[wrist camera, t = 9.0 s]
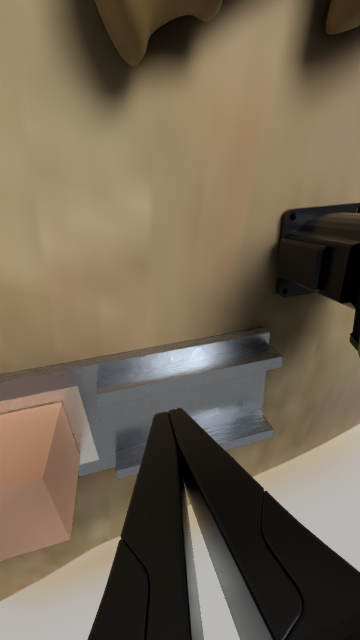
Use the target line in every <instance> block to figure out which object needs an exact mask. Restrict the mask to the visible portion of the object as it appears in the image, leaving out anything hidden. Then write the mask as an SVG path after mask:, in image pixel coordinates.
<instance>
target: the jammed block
mask: <svg viewBox="0 0 360 640" xmlns="http://www.w3.org/2000/svg"><path fill="white" fill-rule="evenodd" d="M79 464H80V455H79V452H78V449H77V446H76V443H75V440H74V437H73V434H72V431H71V428H70V425H69V422H68V419H67V417H66V414H65V411H64V408H63V405H62V402H59V403H55V404H50V405H45V406H40V407H35V408H30V409H26V410H21V411H16V412H11V413H6V414H1V415H0V561H2V560H6V559H9V558H12V557H16V556H19V555H22V554H26V553H29V552H32V551H35V550H39V549H42V548H45V547H49V546H52V545H55V544H59V543H62V542H65V541H69V540H70V539H71V531H72V523H73V514H74V506H75V498H76V489H77V481H78V473H79Z"/></svg>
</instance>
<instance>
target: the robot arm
mask: <svg viewBox="0 0 360 640" xmlns="http://www.w3.org/2000/svg"><path fill="white" fill-rule="evenodd" d="M357 208H358V210H357ZM356 210H357V212H356ZM291 214H293V217H292V219H291V220H290V215H291ZM277 274H278V278H277V289H276V293H277V294H278V295H279V296H281V297H289V296H295V295H301V294H307V293H314V292H316V293H318V294H320V295H323V296H325V297H327V298H329V299H332V300H334V301H336V302H339V303H341V304H343V305H345V306H348V307H350V308H352V309H354V310H356V311H355V318H354V325H353V332H352V333H351V334H350V343H351V344H352V345H353V346H354V347H355V349H356V350H357V351H358V354H359V357H360V203H350V204H339V205H328V206H317V207H306V208H294V209H288V210H287V211H286V212H285V213H284V216H283V226H282V236H281V242H280V248H279V258H278V269H277ZM284 288H285V290H284V292H282V290H283V289H284ZM183 480H184V481H183ZM184 484H185V486H184ZM185 488H186V491H187V494H188V497H189V499H190V502H191V505H192V508H193V511H194V513H195V516H196V518H197V521H198V524H199V527H200V530H201V533H202V535H203V538H204V541H205V544H206V546H207V549H208V552H209V555H210V557H211V560H212V563H213V566H214V568H215V571H216V574H217V577H218V579H219V582H220V585H221V588H222V591H223V593H224V596H225V599H226V602H227V604H228V607H229V610H230V613H231V615H232V618H233V621H234V624H235V626H236V629H237V632H238V635H239V637H240V640H360V572H359V571H358V570H357V569H355V568H354V567H353V566H352V565H350V564H349V563H348V562H347V561H345V560H344V559H343V558H342V557H341V556H339V555H338V554H337V553H336V552H334V551H333V550H332V549H331V548H329V547H328V546H327V545H326V544H324V543H323V542H322V541H321V540H320V539H319V538H317V537H316V536H315V535H314V534H313V533H311V532H310V531H309V530H308V529H307V528H305V527H304V526H303V525H302V524H301V523H300V522H298V521H297V520H296V519H295V518H294V517H293V516H292V515H291V514H290V513H289V512H288V511H287V510H286V509H285V508H284V507H282V506H281V505H280V504H279V503H278V502H277V501H276V500H275V499H274V498H273V497H272V496H271V495H270V494H269V493H268V492H267V491H264V489H263V487H262V486H261V485H260V484H259V483H258V482H257V481H255V479H253V477H252V476H251V475H250V474H249V473H248V472H246V471H245V470H244V469H243V468H242V467H241V466H240V465H239V464H238V463H237V462H236V461H235V460H234V459H233V458H232V457H231V456H230V455H229V454H228V453H227V452H226V451H225V450H224V449H223V448H222V447H221V446H220V445H219V444H218V443H217V442H216V441H215V440H214V439H213V438H212V437H211V436H210V435H209V434H208V433H207V432H206V431H205V430H204V429H203V428H202V427H201V426H200V425H199V424H198V423H197V422H196V421H195V420H194V419H193V418H192V417H191V416H190V415H189V414H188V413H187V412H185V411H184V410H183V409H182V408H181V407H179V408H175V409H171V410H169V411H168V412H167V411H164V412H160V413H156V414H155V415H154V417H153V420H152V424H151V428H150V431H149V435H148V439H147V442H146V446H145V449H144V453H143V457H142V460H141V464H140V468H139V471H138V475H137V478H136V482H135V486H134V489H133V493H132V497H131V500H130V504H129V508H128V511H127V515H126V518H125V522H124V526H123V529H122V533H121V540H120V541H119V543H118V547H117V551H116V554H115V558H114V561H113V565H112V568H111V572H110V575H109V578H108V582H107V585H106V588H105V591H104V594H103V597H102V600H101V603H100V606H99V609H98V612H97V615H96V618H95V621H94V623H93V626H92V629H91V632H90V634H89V637H88V640H204V637H203V629H202V621H201V613H200V605H199V597H198V589H197V581H196V574H195V564H194V556H193V548H192V540H191V532H190V524H189V517H188V508H187V500H186V493H185Z"/></svg>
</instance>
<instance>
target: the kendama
mask: <svg viewBox="0 0 360 640" xmlns="http://www.w3.org/2000/svg"><path fill="white" fill-rule="evenodd" d="M222 1H223V0H95V2H96V5H97V8H98V11H99V14H100V16H101V18H102V21H103V23H104V25H105V28H106V30H107V32H108V34H109V37H110V38H111V40H112V42H113V44H114V45H115V47H116V49H117V51H118V52H119V54H120V55H121V57H122V58H123V59H124V60H125V61H126V63H128V64H129V65H131V66H132V67H134V66H136V65H138V64H139V62H140V61H141V60H142V58H143V57H144V55H145V52H146V48H147V43H148V40H149V37H150V35H151V34H152V33H153V32H154V31H155V30H156V29H158V28H159V27H161V26H162V25H164V24H165V23H167V22H169V21H171V20H173V19H175V18H177V17H180V16H184V15H193V16H195V17H197V18H198V19H200V20H202V21H204V22H209V21H210V20H211V19H213V18H214V17H215V16H216V15H217V14H218V13H219V10H220V7H221V4H222ZM358 26H360V0H331V4H330V7H329V11H328V15H327V19H326V27H325V29H326V32H327V34H338V33H342V32H345V31H348V30H351V29H353V28H356V27H358Z"/></svg>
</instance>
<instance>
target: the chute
mask: <svg viewBox="0 0 360 640" xmlns="http://www.w3.org/2000/svg"><path fill="white" fill-rule="evenodd" d="M269 338H270V332H269V331H268V330H266V329H265V328H264V327H262V328H257V329H251V330H246V331H240V332H235V333H229V334H223V335H218V336H212V337H207V338H201V339H196V340H190V341H185V342H179V343H174V344H168V345H163V346H157V347H152V348H146V349H141V350H135V351H129V352H124V353H118V354H113V355H107V356H102V357H96V358H91V359H85V360H80V361H74V362H69V363H63V364H58V365H52V366H46V367H41V368H35V369H30V370H24V371H19V372H13V373H8V374H2V375H0V415H1V414H6V413H11V412H16V411H21V410H26V409H30V408H35V407H40V406H45V405H50V404H55V403H59V402H62V405H63V408H64V411H65V414H66V417H67V419H68V422H69V425H70V428H71V431H72V434H73V437H74V440H75V443H76V446H77V449H78V452H79V455H80V464H79V473H78V477H79V476H83V475H87V474H91V473H95V472H99V471H102V470H106V469H110V468H114V467H116V473H117V477H118V479H120V478H124V477H128V476H132V475H135V474H138V471H139V468H140V464H141V460H142V457H143V453H144V449H145V446H146V442H147V439H148V435H149V431H150V428H151V424H152V420H153V417H154V415H155V414H156V413H160V412H164V411H167V412H168V411H169V410H171V409H175V408H179V407H181V408H182V409H183V410H184V411H185V412H187V413H188V414H189V415H190V416H191V417H192V418H193V419H194V420H195V421H196V422H197V423H198V424H199V425H200V426H201V427H202V428H203V429H204V430H205V431H206V432H207V433H208V434H209V435H210V436H211V437H212V438H213V439H214V440H215V441H216V442H217V443H218V444H219V445H220V446H221V447H222V448H223V449H224V450H228V449H232V448H236V447H239V446H243V445H247V444H251V443H254V442H258V441H262V440H265V439H269V438H273V434H274V429H273V427H272V426H271V425H270V423H269V422H268V420H267V419H266V418H265V416H264V415H263V403H264V392H265V381H266V370H271V369H275V368H280V367H282V359H283V356H282V355H281V354H280V353H278V352H277V351H276V350H275V349H274V348H273V347H272V346H271V345H270V344H269Z"/></svg>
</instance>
